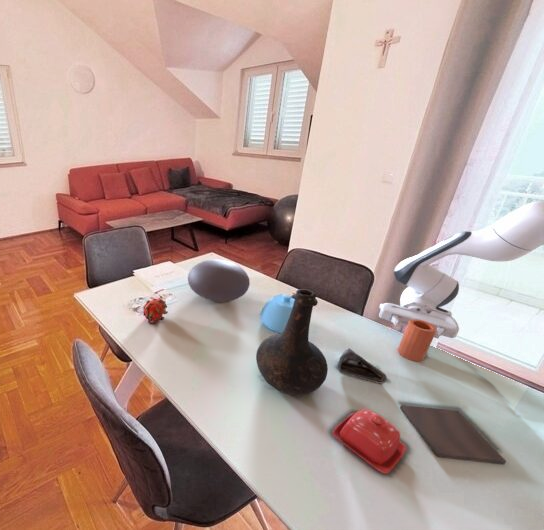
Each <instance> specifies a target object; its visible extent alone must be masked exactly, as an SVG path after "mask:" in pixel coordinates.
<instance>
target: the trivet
mask: <svg viewBox="0 0 544 530" xmlns="http://www.w3.org/2000/svg"><path fill="white" fill-rule="evenodd" d="M399 408H400V410H401V411H402V413H403V414H404V415H405V417H406V418H407V419H408V420H409V422H410V423H411V425H412V426H413V427H414V428H415V430H416V432H418V434H419V435H420V437H421V438H422V439H423V441H424V442H425V444H427V446H428V447H429V448H430V450H431V451H432V452H433V454H434V455H435V456H436V457H437V458H444V459H445V458H446V459H453V460H464V461H472V462H480V463H490V464H497V465H505V464H506V463H507V460H506V459H505V458H504V457H503V456H502V455H501V453H499V451H497V450H496V449H495V447H494V446H493V445H492V444H490V441H488V440H487V439H486V438H485V437H484V436H483V434H482V433H480V432H479V430H478V429H477V428H476V427H474V425H473V424H472V423H471V422H470V421H469V420H468V419H467V418H466V417H465V416H464V415H463V414H462V413H461V412H460V410H458V409H457V410H456V409H448V408H438V407H437V408H436V407H425V406H416V405H406V404H401V405H400V407H399Z"/></svg>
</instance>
